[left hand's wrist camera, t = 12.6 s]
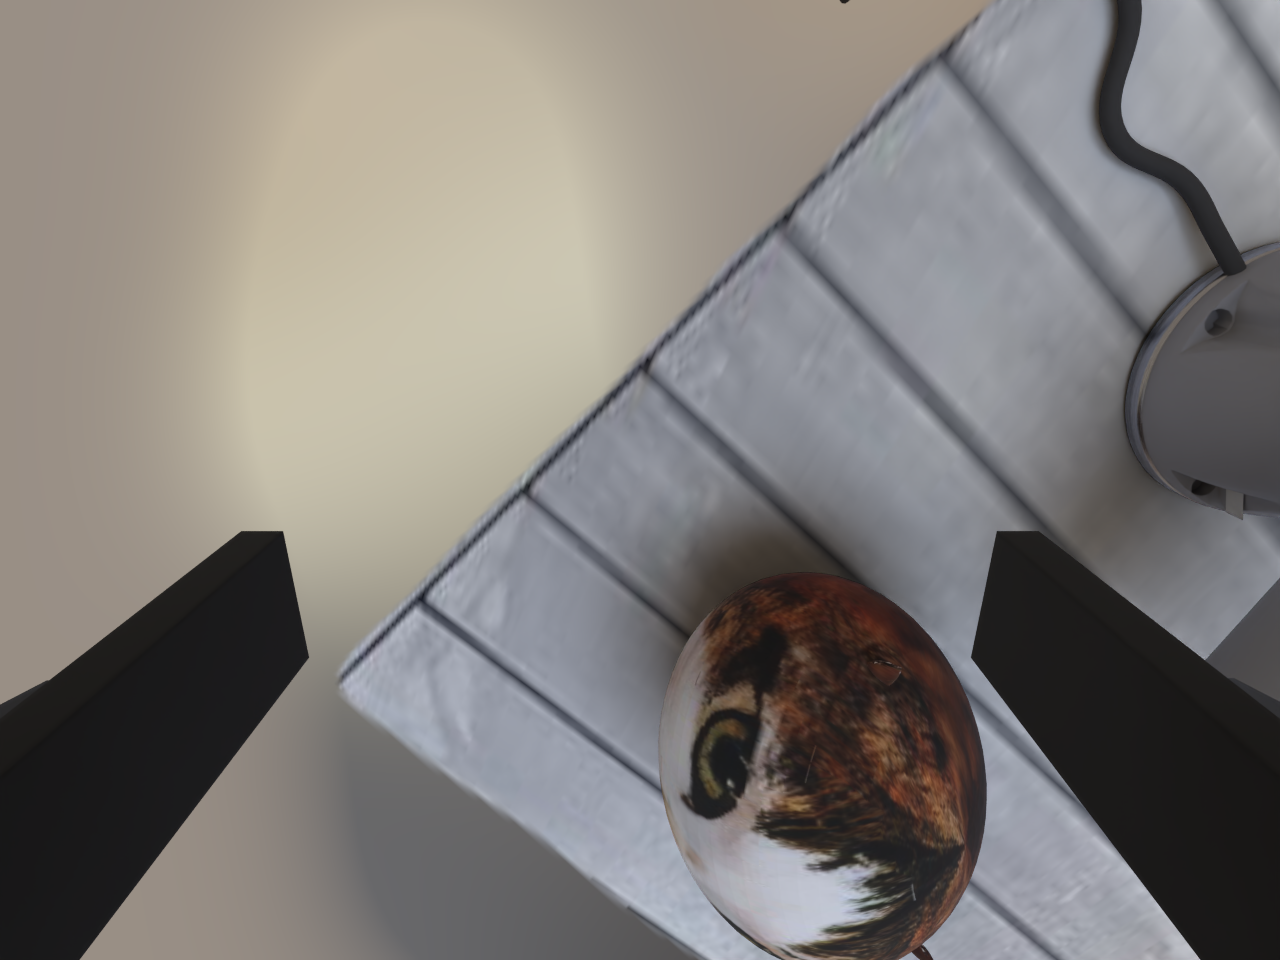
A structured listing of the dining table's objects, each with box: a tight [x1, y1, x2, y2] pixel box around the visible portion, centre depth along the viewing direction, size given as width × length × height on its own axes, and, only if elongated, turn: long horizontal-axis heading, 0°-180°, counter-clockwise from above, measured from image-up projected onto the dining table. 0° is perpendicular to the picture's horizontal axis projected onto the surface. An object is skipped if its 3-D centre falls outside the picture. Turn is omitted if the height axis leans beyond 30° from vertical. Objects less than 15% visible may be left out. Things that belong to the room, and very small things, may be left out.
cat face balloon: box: [659, 572, 987, 960], centre depth 39 cm, size 22×18×20 cm
